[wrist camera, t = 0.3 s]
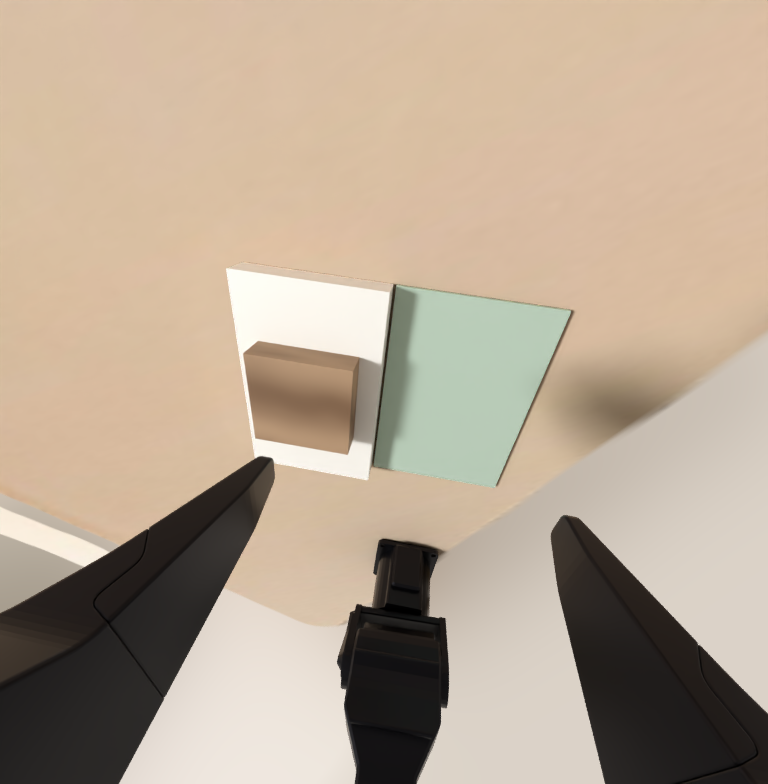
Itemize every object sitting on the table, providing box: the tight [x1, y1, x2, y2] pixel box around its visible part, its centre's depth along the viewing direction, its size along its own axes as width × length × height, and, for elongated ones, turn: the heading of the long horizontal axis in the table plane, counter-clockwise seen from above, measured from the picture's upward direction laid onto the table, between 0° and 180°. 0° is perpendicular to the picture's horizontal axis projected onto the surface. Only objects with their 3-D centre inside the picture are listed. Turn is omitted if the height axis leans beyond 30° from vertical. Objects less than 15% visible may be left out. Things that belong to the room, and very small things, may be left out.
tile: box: [243, 341, 360, 455], centre depth 23 cm, size 7×7×2 cm
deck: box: [226, 262, 394, 480], centre depth 24 cm, size 16×10×2 cm, turn 174°
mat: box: [374, 284, 571, 488], centre depth 24 cm, size 16×11×1 cm
